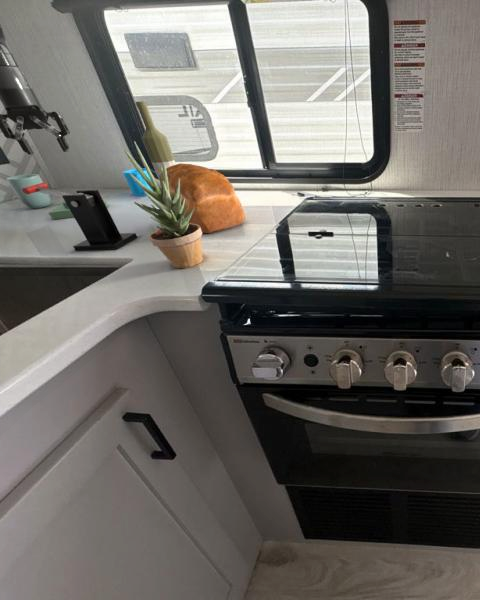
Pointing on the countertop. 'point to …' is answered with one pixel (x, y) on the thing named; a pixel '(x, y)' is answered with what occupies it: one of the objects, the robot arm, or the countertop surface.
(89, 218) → the bracket
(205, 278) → the countertop surface
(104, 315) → the countertop surface
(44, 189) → the lever
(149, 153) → the bottle
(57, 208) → the button block
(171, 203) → the potted plant
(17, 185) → the cup
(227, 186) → the bread
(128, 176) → the mug
